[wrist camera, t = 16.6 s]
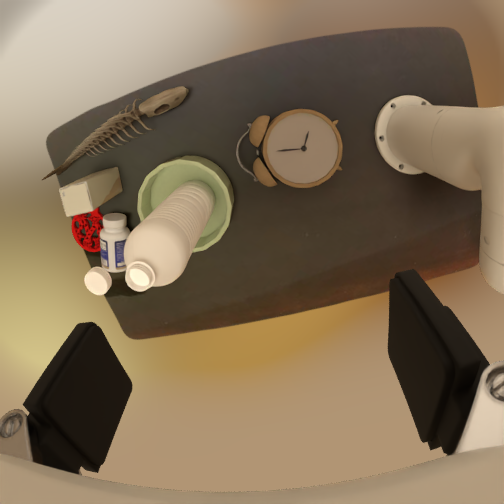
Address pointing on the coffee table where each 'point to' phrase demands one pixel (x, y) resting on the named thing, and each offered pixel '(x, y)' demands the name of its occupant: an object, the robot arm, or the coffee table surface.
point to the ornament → (88, 230)
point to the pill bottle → (113, 242)
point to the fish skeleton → (126, 123)
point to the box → (90, 191)
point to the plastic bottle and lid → (162, 240)
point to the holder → (176, 174)
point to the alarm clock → (295, 148)
